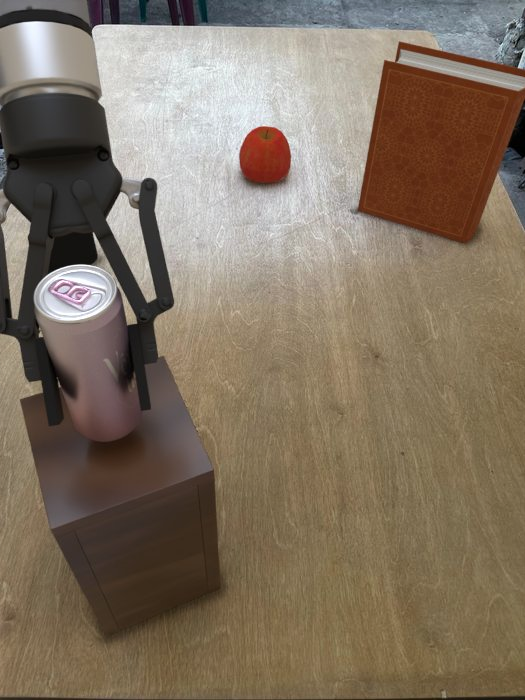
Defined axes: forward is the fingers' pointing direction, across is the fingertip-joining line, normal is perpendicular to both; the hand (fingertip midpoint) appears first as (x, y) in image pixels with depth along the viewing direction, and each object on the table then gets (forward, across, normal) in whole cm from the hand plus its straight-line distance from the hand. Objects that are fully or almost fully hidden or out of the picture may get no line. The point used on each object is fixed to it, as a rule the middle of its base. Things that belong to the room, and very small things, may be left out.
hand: (101, 414), depth 48 cm
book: (-18, -60, -69) cm, 94 cm away
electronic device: (-16, +8, -67) cm, 70 cm away
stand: (+23, 0, -28) cm, 36 cm away
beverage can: (+1, 0, -6) cm, 7 cm away
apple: (-32, -33, -83) cm, 95 cm away
